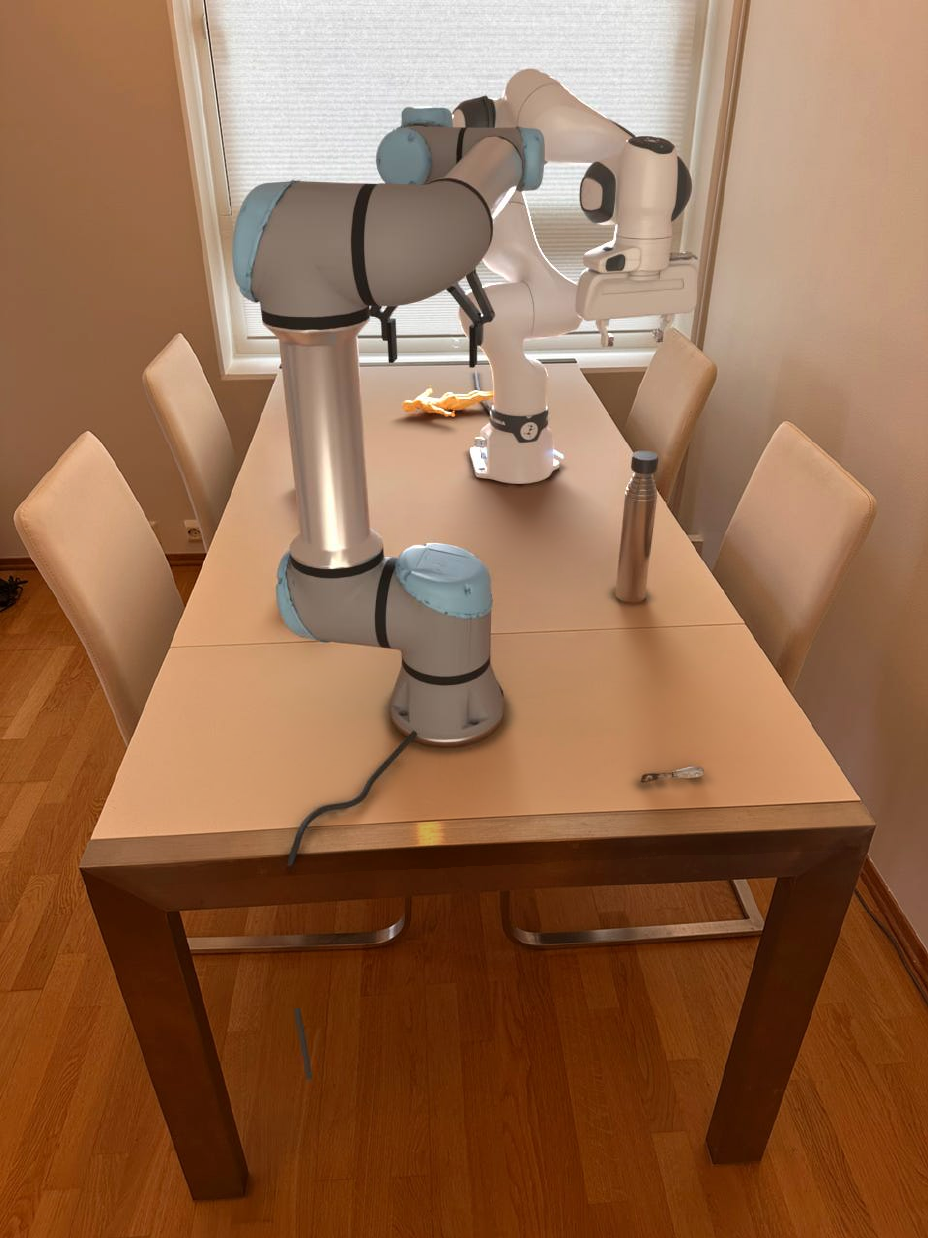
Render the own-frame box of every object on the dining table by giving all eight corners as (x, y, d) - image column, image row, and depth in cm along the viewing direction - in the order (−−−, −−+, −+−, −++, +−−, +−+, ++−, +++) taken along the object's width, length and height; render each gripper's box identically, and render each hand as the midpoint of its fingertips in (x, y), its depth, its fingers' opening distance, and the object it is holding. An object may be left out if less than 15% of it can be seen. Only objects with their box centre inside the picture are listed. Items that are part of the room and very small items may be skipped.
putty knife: (703, 777, 109) (705, 767, 109) (642, 788, 108) (644, 777, 107) (700, 772, 110) (702, 762, 109) (639, 782, 109) (640, 771, 108)
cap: (630, 473, 134) (631, 459, 133) (631, 463, 137) (632, 449, 136) (656, 475, 134) (658, 461, 132) (657, 465, 137) (658, 451, 136)
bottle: (614, 601, 146) (627, 462, 133) (616, 586, 150) (629, 450, 137) (644, 604, 145) (661, 465, 132) (645, 589, 149) (661, 453, 136)
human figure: (395, 413, 223) (394, 398, 221) (438, 390, 237) (438, 375, 235) (462, 429, 215) (462, 413, 213) (502, 404, 229) (503, 388, 227)
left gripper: (514, 221, 136) (511, 360, 148) (358, 217, 141) (367, 352, 152) (506, 229, 130) (503, 373, 141) (343, 224, 135) (353, 365, 146)
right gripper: (690, 247, 145) (680, 334, 152) (574, 254, 140) (569, 343, 147) (710, 254, 140) (698, 343, 147) (590, 261, 135) (584, 353, 142)
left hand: (432, 363), depth 147 cm, fingers open, 13 cm apart
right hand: (633, 343), depth 147 cm, fingers open, 8 cm apart
